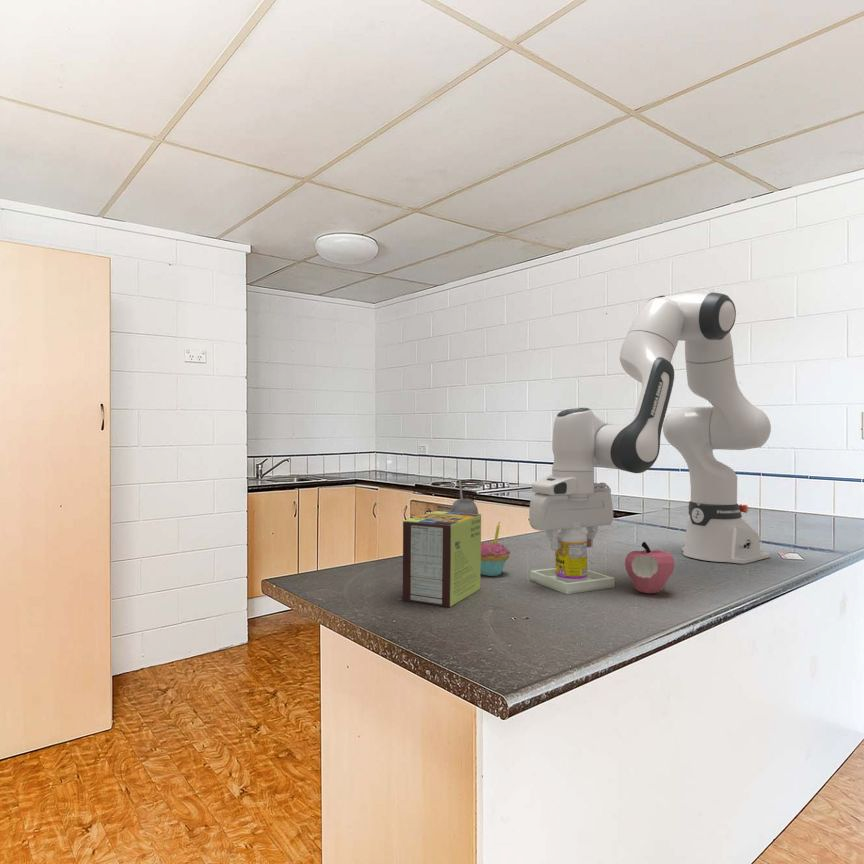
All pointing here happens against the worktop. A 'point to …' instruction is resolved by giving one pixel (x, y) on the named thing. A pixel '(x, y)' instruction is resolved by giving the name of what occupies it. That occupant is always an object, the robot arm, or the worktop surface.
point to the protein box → (441, 557)
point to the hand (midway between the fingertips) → (572, 548)
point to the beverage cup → (464, 504)
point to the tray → (592, 583)
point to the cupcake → (493, 557)
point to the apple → (649, 569)
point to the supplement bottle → (572, 555)
